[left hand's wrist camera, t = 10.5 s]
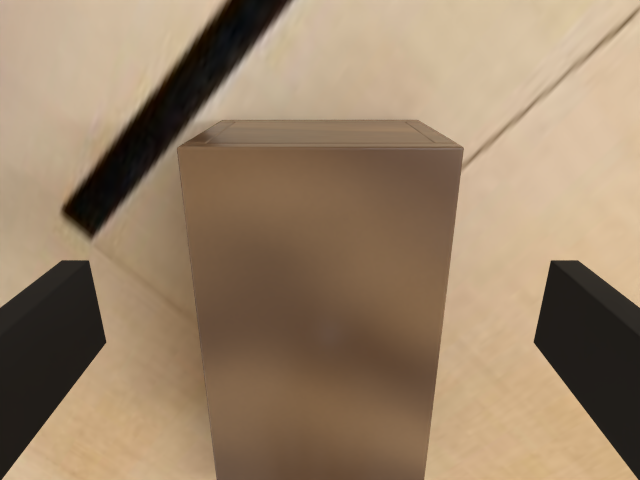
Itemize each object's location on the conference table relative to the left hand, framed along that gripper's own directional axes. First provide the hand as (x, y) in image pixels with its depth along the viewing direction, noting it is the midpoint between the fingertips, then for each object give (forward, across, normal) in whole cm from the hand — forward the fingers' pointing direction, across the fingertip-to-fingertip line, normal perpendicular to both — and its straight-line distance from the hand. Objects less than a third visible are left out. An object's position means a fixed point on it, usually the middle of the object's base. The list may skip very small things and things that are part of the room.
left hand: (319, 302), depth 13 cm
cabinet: (+15, 0, -6) cm, 16 cm away
